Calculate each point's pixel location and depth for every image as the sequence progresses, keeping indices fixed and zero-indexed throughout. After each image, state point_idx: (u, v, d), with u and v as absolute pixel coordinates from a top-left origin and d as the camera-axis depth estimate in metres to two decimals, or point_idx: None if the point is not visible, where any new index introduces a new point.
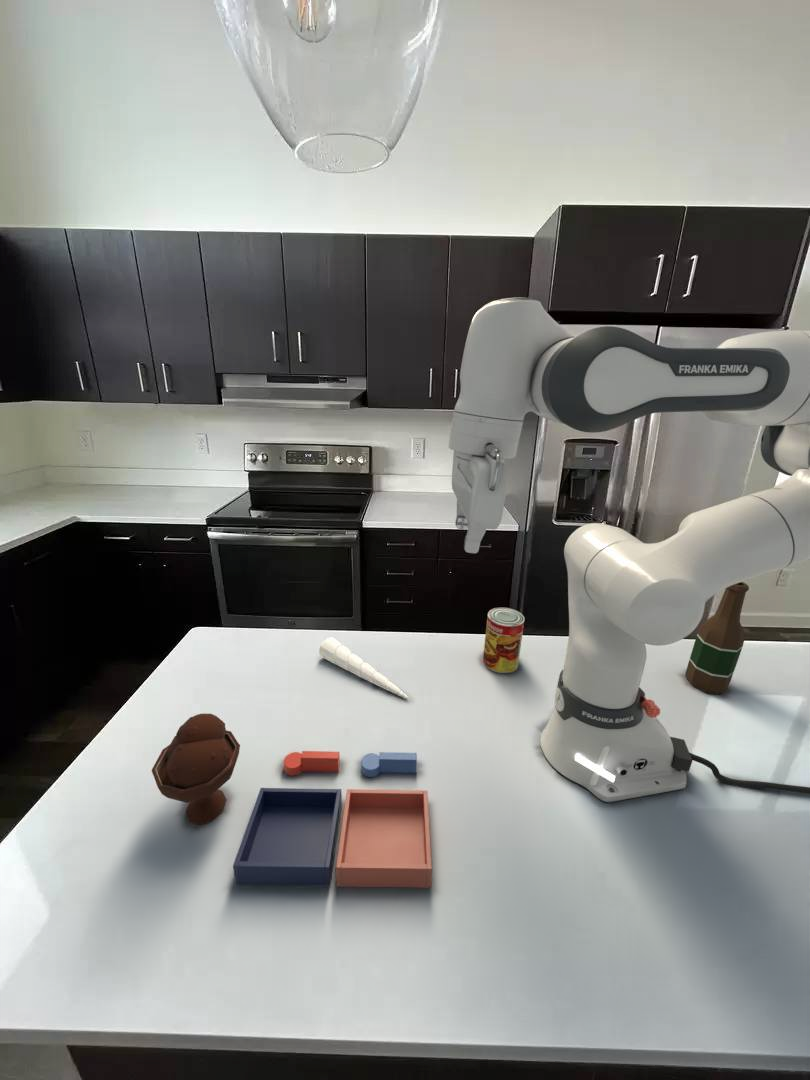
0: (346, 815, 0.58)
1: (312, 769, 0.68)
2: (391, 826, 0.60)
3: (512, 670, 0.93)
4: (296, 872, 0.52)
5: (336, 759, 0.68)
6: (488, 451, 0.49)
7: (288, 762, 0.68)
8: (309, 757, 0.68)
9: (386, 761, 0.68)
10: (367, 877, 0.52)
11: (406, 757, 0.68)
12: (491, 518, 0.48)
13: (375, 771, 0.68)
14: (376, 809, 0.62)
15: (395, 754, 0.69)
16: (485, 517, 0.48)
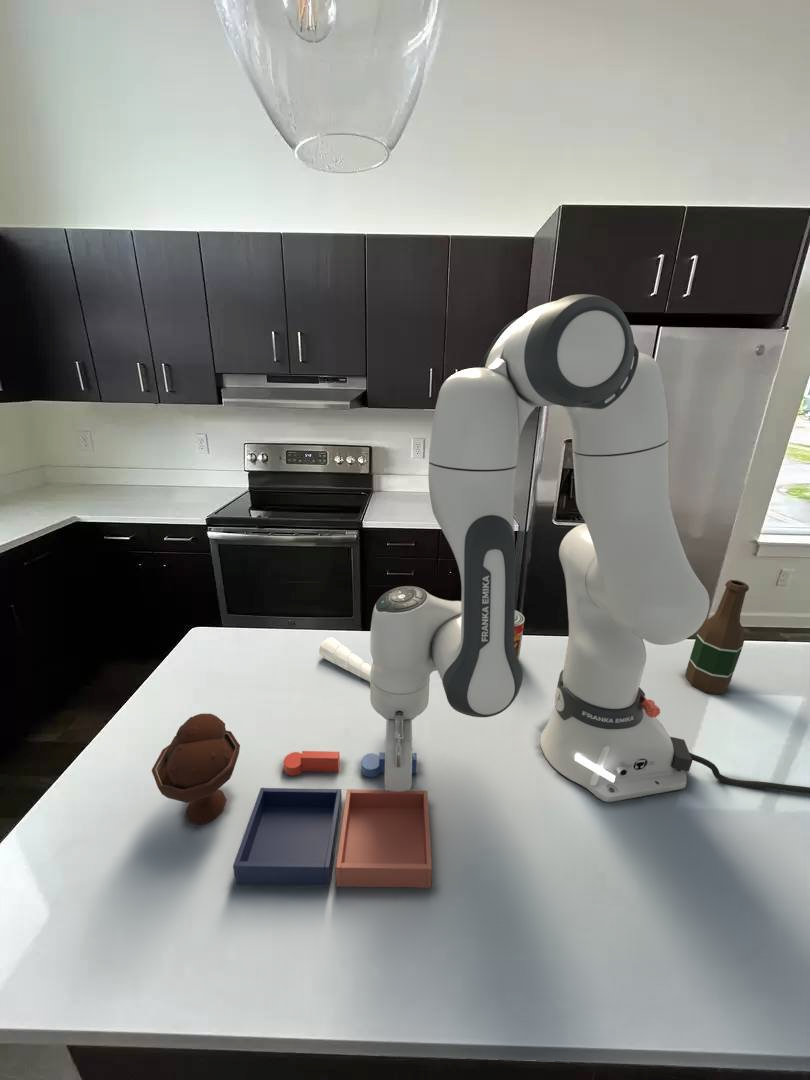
0: (346, 815, 0.58)
1: (312, 769, 0.68)
2: (391, 826, 0.60)
3: None
4: (296, 872, 0.52)
5: (336, 759, 0.68)
6: (395, 726, 0.58)
7: (288, 762, 0.68)
8: (309, 757, 0.68)
9: None
10: (367, 877, 0.52)
11: None
12: (401, 787, 0.57)
13: (375, 771, 0.68)
14: (376, 809, 0.62)
15: None
16: (396, 786, 0.57)
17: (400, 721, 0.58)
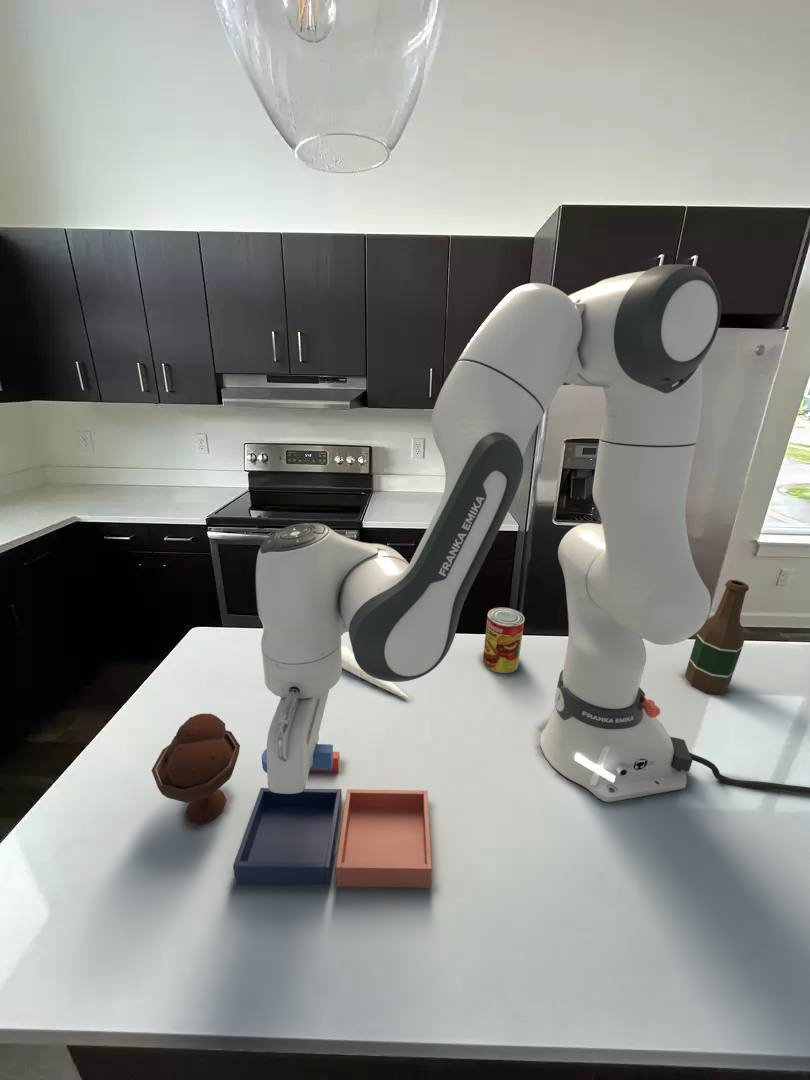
0: (346, 815, 0.58)
1: (312, 769, 0.68)
2: (391, 826, 0.60)
3: (512, 670, 0.93)
4: (296, 872, 0.52)
5: (336, 759, 0.68)
6: None
7: None
8: None
9: None
10: (367, 877, 0.52)
11: (319, 750, 0.53)
12: (289, 787, 0.42)
13: None
14: (376, 809, 0.62)
15: None
16: (282, 787, 0.42)
17: (291, 700, 0.44)
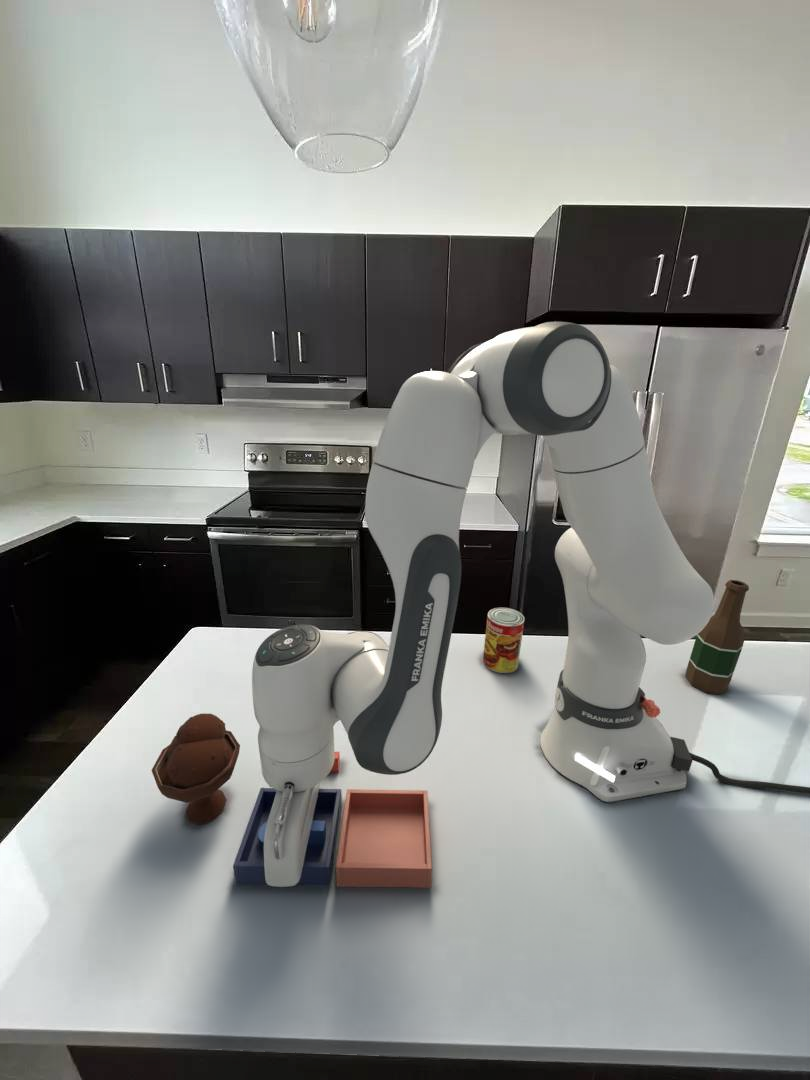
0: (346, 815, 0.58)
1: None
2: (391, 826, 0.60)
3: (512, 670, 0.93)
4: None
5: (336, 759, 0.68)
6: (280, 803, 0.46)
7: None
8: None
9: None
10: (367, 877, 0.52)
11: (312, 827, 0.57)
12: (285, 881, 0.46)
13: None
14: (376, 809, 0.62)
15: None
16: (279, 881, 0.45)
17: (286, 797, 0.47)
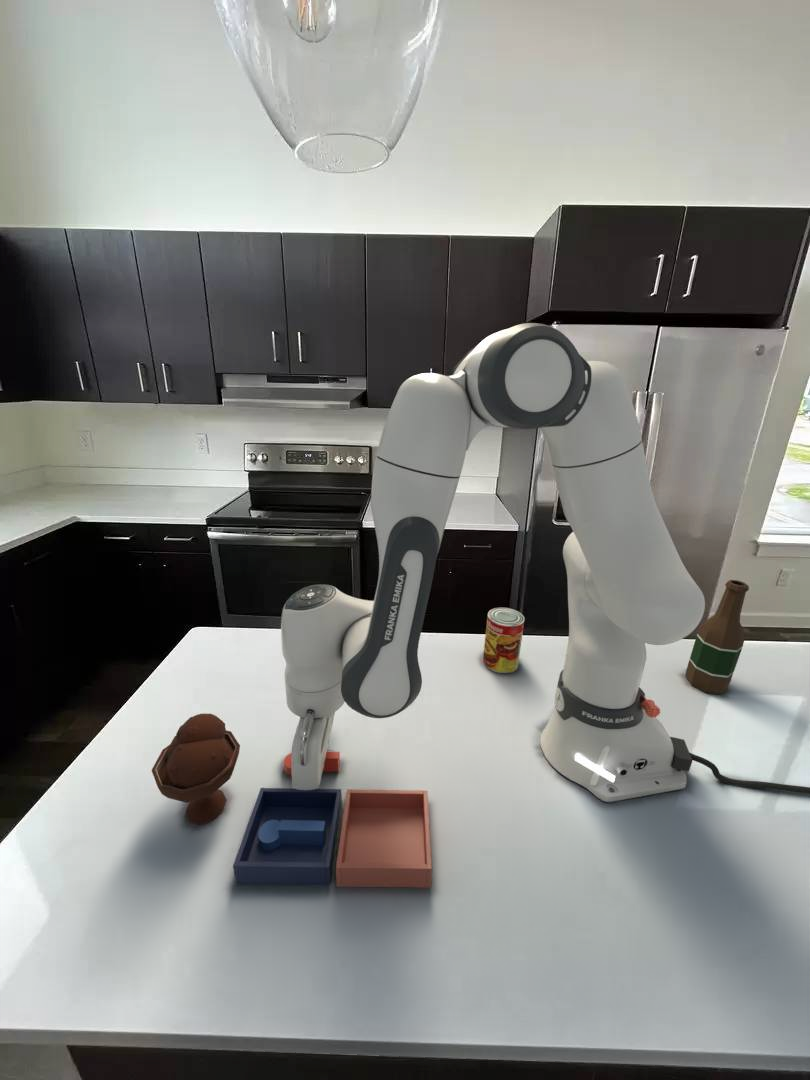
0: (346, 815, 0.58)
1: None
2: (391, 826, 0.60)
3: (512, 670, 0.93)
4: (296, 872, 0.52)
5: (336, 759, 0.68)
6: (303, 724, 0.58)
7: (288, 762, 0.68)
8: None
9: (287, 832, 0.56)
10: (367, 877, 0.52)
11: (312, 827, 0.57)
12: (308, 785, 0.57)
13: (273, 844, 0.56)
14: (376, 809, 0.62)
15: (299, 823, 0.57)
16: (303, 785, 0.57)
17: (308, 719, 0.58)
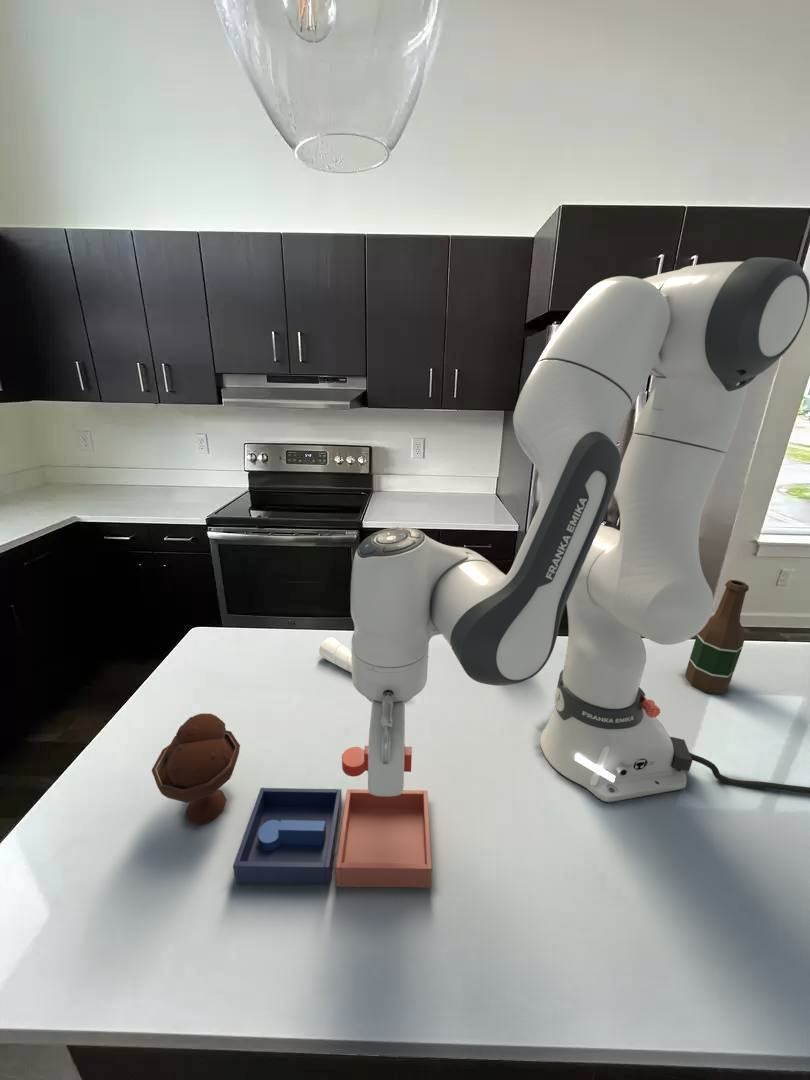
0: (346, 815, 0.58)
1: None
2: (391, 826, 0.60)
3: None
4: (296, 872, 0.52)
5: (409, 756, 0.53)
6: (382, 709, 0.44)
7: (348, 759, 0.54)
8: None
9: (287, 832, 0.56)
10: (367, 877, 0.52)
11: (312, 827, 0.57)
12: (390, 790, 0.43)
13: (273, 844, 0.56)
14: (376, 809, 0.62)
15: (299, 823, 0.57)
16: (383, 790, 0.43)
17: (389, 703, 0.44)
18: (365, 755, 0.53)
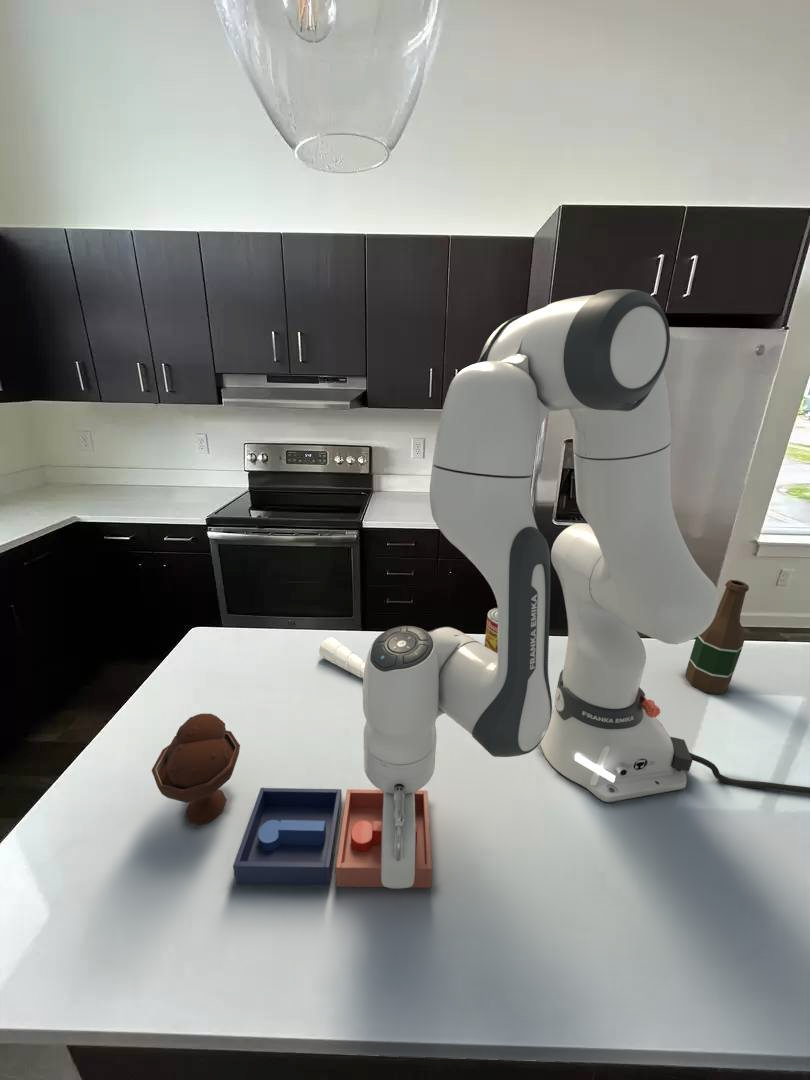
0: (346, 815, 0.58)
1: None
2: None
3: None
4: (296, 872, 0.52)
5: (415, 832, 0.56)
6: (394, 805, 0.47)
7: (357, 834, 0.57)
8: None
9: (287, 832, 0.56)
10: (367, 877, 0.52)
11: (312, 827, 0.57)
12: (402, 883, 0.46)
13: (273, 844, 0.56)
14: (376, 809, 0.62)
15: (299, 823, 0.57)
16: (396, 883, 0.46)
17: (400, 799, 0.47)
18: (373, 831, 0.56)
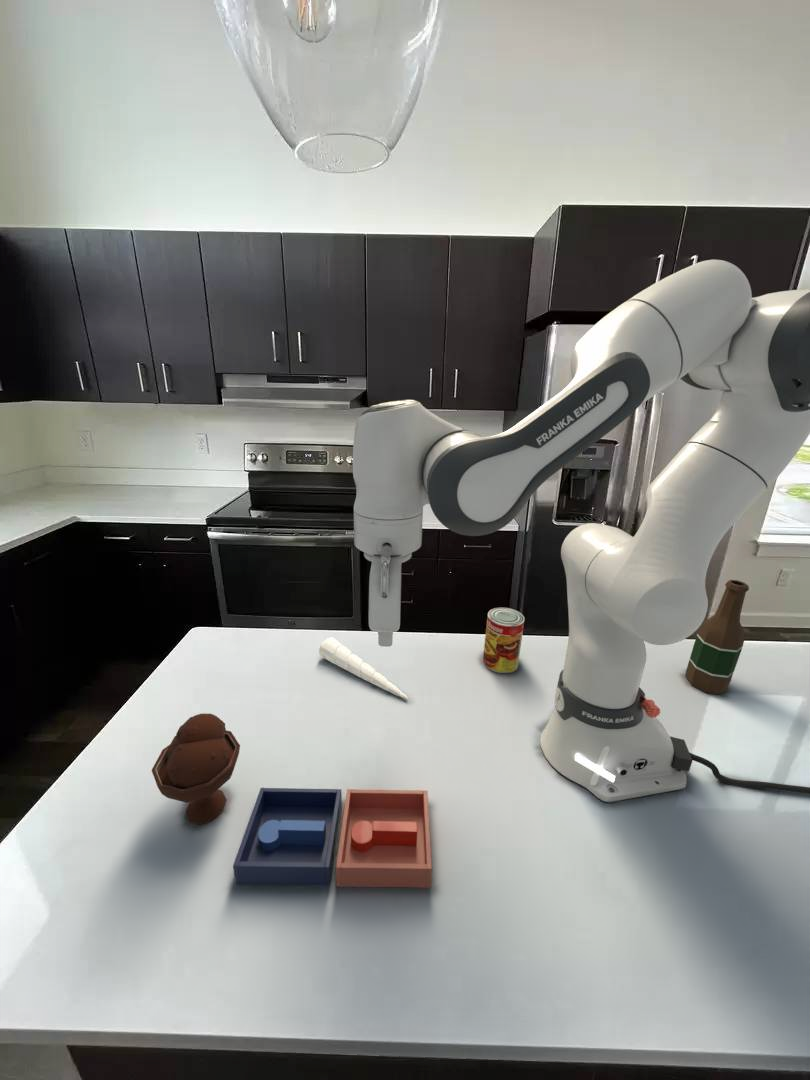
0: (346, 815, 0.58)
1: (385, 843, 0.57)
2: None
3: (512, 670, 0.93)
4: (296, 872, 0.52)
5: (415, 832, 0.56)
6: None
7: (357, 834, 0.57)
8: (382, 830, 0.56)
9: (287, 832, 0.56)
10: (367, 877, 0.52)
11: (312, 827, 0.57)
12: (388, 623, 0.48)
13: (273, 844, 0.56)
14: (376, 809, 0.62)
15: (299, 823, 0.57)
16: (382, 623, 0.48)
17: (387, 549, 0.49)
18: (373, 831, 0.56)
